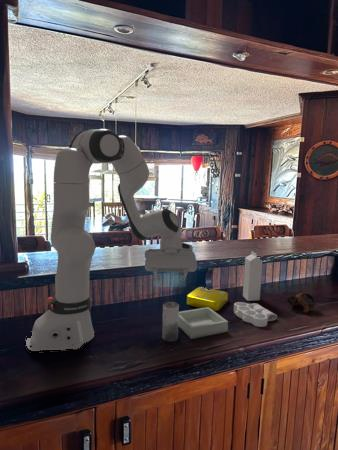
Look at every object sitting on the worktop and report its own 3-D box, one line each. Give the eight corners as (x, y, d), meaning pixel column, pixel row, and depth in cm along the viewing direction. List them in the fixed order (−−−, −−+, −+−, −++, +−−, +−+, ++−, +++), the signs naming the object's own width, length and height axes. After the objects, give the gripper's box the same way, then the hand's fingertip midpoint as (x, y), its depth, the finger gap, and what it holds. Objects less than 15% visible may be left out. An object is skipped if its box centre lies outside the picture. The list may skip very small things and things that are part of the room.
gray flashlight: (165, 342, 113) (166, 307, 111) (159, 335, 118) (160, 301, 116) (180, 339, 115) (181, 304, 113) (173, 332, 120) (174, 299, 118)
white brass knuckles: (282, 324, 131) (251, 329, 125) (254, 306, 147) (225, 311, 142) (282, 315, 130) (251, 321, 125) (254, 299, 147) (225, 303, 141)
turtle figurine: (305, 304, 152) (314, 292, 147) (310, 321, 144) (320, 309, 139) (280, 298, 150) (289, 285, 146) (284, 314, 143) (293, 302, 138)
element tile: (185, 305, 147) (185, 294, 147) (198, 294, 160) (199, 285, 160) (217, 312, 140) (217, 301, 139) (228, 301, 153) (229, 291, 153)
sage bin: (191, 338, 116) (191, 328, 116) (174, 322, 129) (174, 312, 128) (227, 331, 122) (228, 321, 122) (207, 316, 135) (208, 307, 134)
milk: (254, 295, 160) (257, 250, 156) (259, 300, 154) (263, 253, 151) (242, 296, 159) (245, 250, 156) (247, 300, 153) (250, 254, 150)
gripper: (144, 244, 132) (143, 276, 124) (196, 245, 132) (198, 276, 124) (145, 253, 137) (143, 283, 129) (194, 253, 137) (196, 284, 129)
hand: (170, 280), depth 127 cm, fingers open, 8 cm apart
